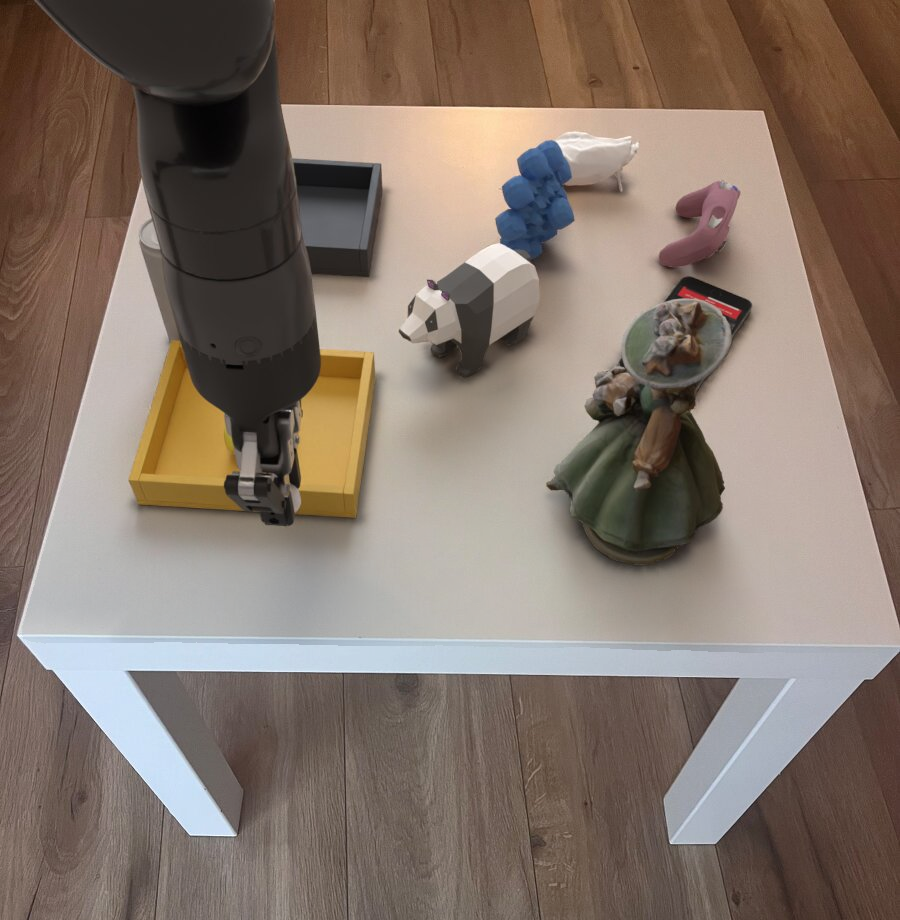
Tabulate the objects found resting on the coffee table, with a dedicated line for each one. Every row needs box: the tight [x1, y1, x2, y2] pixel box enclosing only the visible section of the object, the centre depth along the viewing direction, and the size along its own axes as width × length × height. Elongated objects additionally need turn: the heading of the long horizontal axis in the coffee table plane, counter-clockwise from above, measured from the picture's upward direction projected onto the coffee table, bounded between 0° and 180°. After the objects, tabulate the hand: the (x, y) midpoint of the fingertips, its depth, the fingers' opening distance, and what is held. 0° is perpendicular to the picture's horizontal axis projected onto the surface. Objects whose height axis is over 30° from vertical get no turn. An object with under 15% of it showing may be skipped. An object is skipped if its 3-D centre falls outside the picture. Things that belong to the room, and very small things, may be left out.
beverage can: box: [138, 217, 180, 345], centre depth 78 cm, size 5×5×12 cm
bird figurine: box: [554, 130, 641, 193], centre depth 95 cm, size 5×7×10 cm
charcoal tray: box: [292, 157, 383, 278], centre depth 91 cm, size 16×14×3 cm
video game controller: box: [658, 178, 741, 268], centre depth 90 cm, size 10×5×7 cm, turn 161°
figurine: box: [545, 298, 733, 566], centre depth 67 cm, size 14×14×20 cm
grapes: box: [494, 139, 576, 261], centre depth 85 cm, size 12×7×12 cm, turn 147°
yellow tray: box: [127, 340, 376, 519], centre depth 76 cm, size 18×16×3 cm
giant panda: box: [398, 242, 540, 379], centre depth 79 cm, size 15×6×10 cm, turn 133°
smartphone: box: [617, 275, 753, 393], centre depth 85 cm, size 7×1×15 cm
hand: (282, 502), depth 64 cm, fingers closed on chess pawn, 2 cm apart
